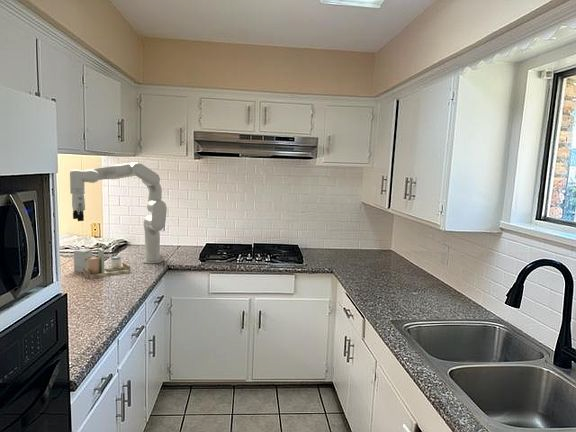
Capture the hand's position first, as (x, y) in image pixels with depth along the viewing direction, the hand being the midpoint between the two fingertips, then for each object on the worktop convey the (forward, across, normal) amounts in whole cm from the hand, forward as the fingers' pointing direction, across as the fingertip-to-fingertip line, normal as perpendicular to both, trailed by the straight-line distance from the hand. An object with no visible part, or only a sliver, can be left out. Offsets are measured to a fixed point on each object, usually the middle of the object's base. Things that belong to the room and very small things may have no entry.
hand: (78, 219), depth 243 cm
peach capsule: (+31, -14, -4) cm, 34 cm away
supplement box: (+31, 0, -2) cm, 31 cm away
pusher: (+31, -14, -9) cm, 35 cm away
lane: (+31, -14, -11) cm, 36 cm away
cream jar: (+31, -4, -20) cm, 37 cm away
